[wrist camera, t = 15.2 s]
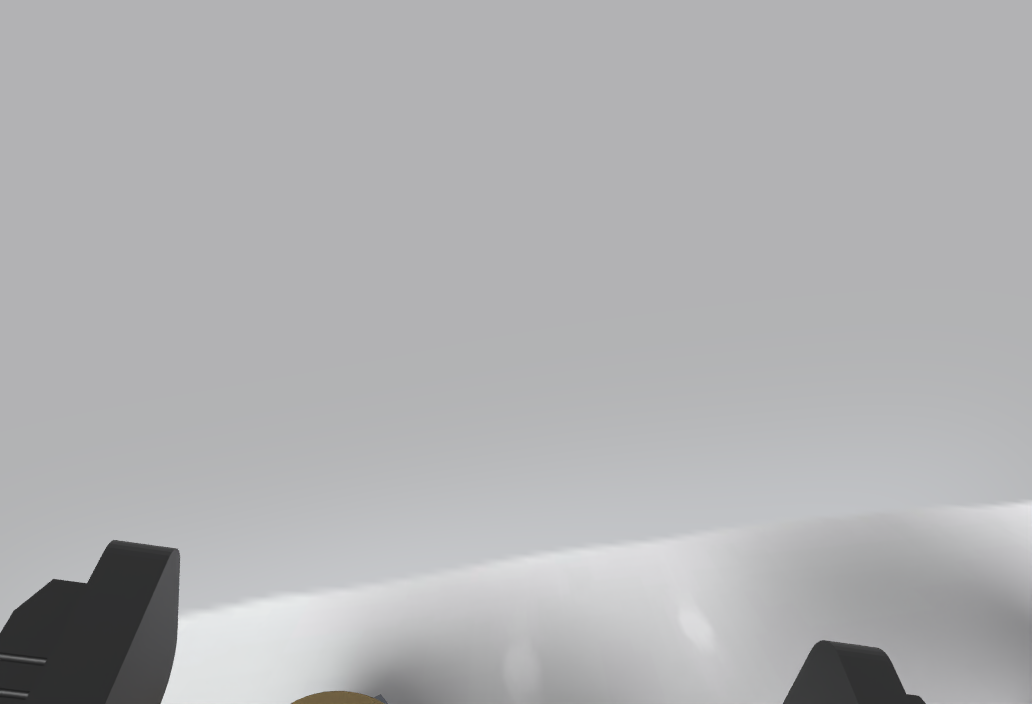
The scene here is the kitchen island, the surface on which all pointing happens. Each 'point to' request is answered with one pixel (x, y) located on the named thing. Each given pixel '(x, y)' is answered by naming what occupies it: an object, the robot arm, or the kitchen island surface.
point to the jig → (381, 699)
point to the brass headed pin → (337, 698)
